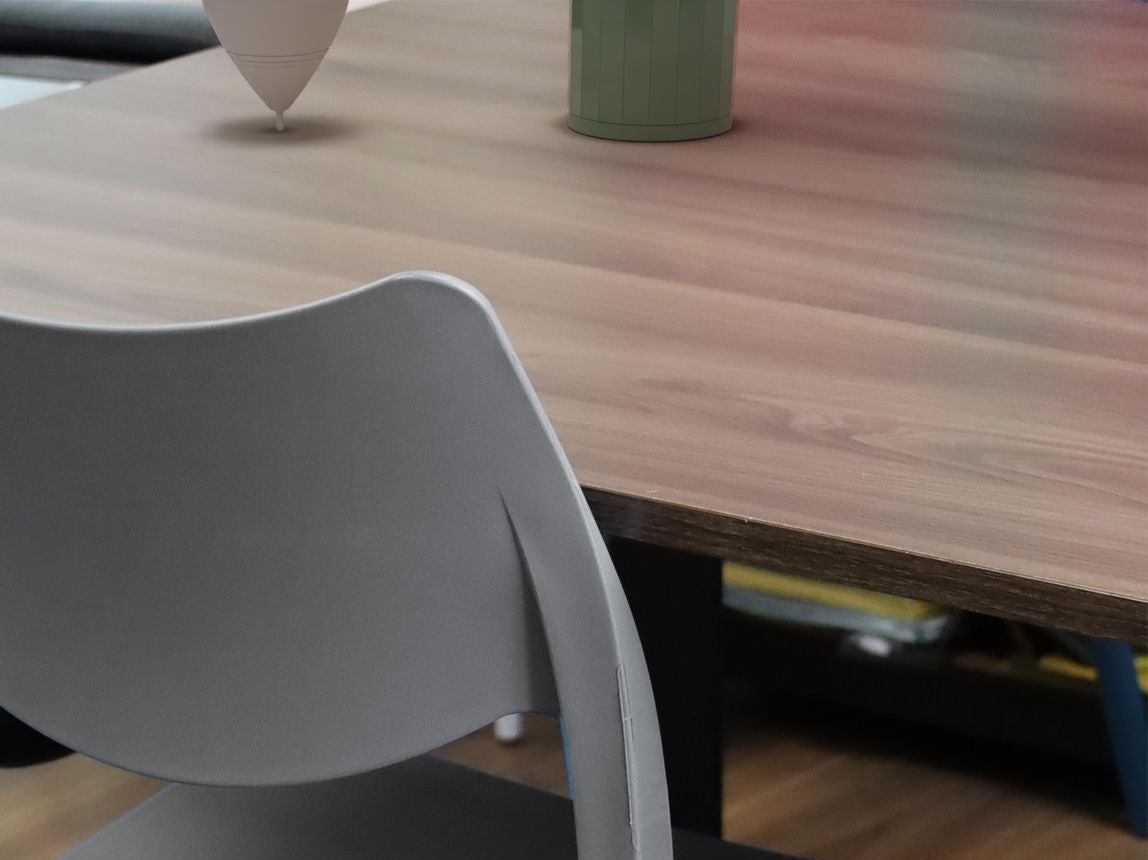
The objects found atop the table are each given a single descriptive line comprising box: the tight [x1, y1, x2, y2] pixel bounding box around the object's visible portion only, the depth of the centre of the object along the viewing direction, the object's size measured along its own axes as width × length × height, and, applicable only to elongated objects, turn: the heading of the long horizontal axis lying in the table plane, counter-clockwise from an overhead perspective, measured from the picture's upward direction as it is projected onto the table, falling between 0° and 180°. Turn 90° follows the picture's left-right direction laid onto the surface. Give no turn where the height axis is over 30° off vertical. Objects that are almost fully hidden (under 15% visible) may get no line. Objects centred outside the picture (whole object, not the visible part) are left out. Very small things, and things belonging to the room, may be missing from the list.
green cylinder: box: [566, 0, 740, 142], centre depth 120 cm, size 9×9×11 cm
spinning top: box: [201, 0, 350, 132], centre depth 120 cm, size 8×8×12 cm
